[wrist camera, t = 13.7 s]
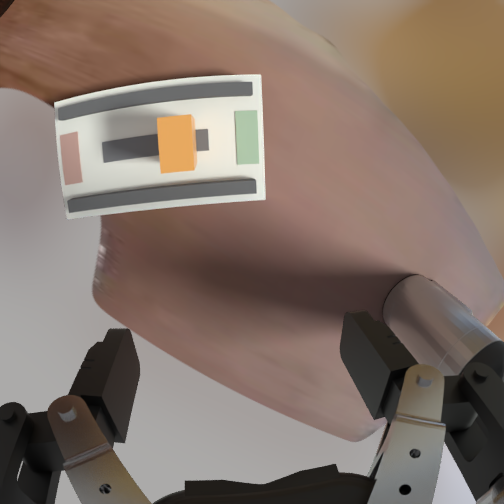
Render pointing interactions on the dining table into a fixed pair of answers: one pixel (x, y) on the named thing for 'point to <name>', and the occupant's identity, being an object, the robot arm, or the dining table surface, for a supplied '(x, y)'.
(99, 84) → the dining table surface
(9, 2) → the manual coffee grinder
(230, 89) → the pair of grey rails
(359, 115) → the dining table surface
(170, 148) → the block
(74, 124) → the breaker panel
